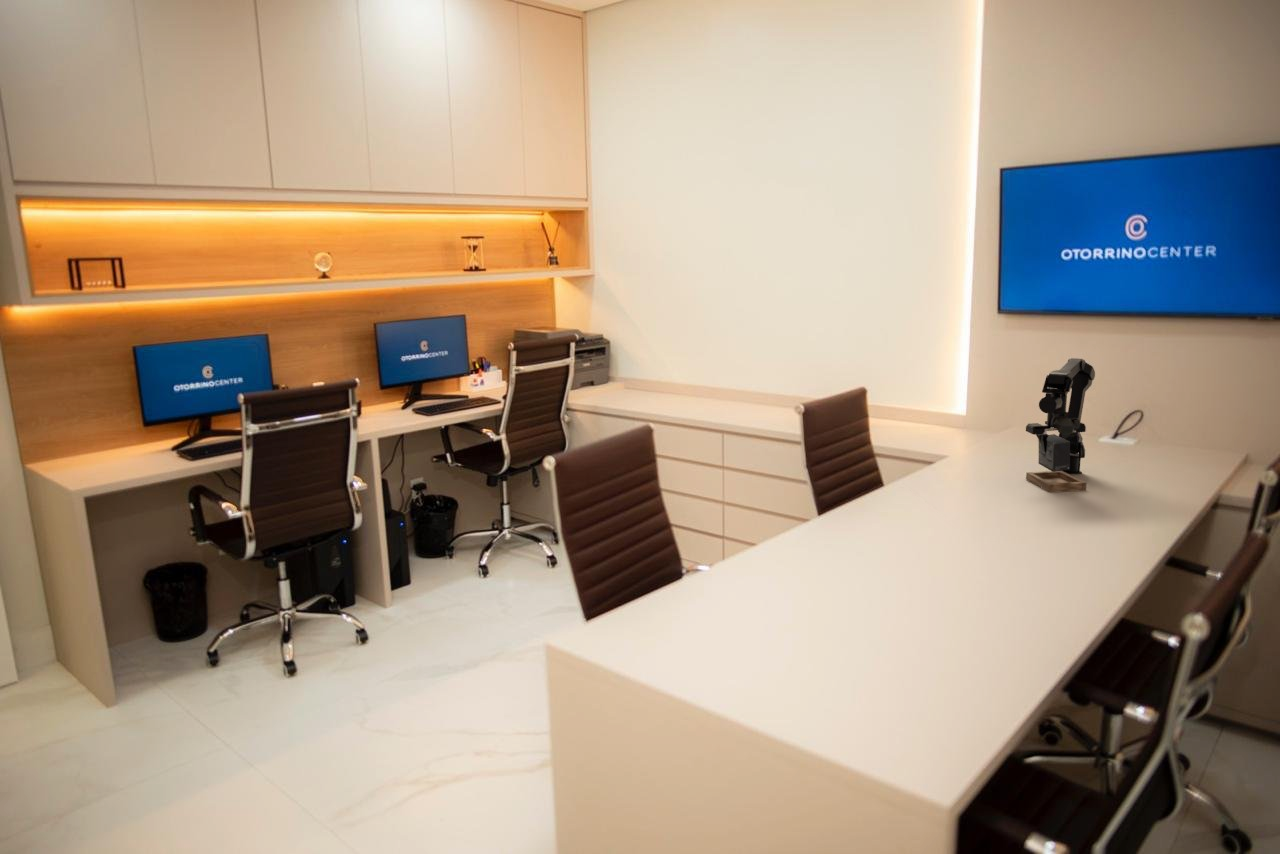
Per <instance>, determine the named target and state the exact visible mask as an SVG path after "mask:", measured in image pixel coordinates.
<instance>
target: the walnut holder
mask: <svg viewBox="0 0 1280 854" xmlns="http://www.w3.org/2000/svg"><path fill="white" fill-rule="evenodd" d="M1026 479H1027V480H1026ZM1025 480H1026V481H1028V480H1029V481H1028V482H1030V481H1031V482H1030V483H1032V482H1033V483H1034V484H1033V483H1032V484H1033V485H1035V484H1036V486H1037V485H1038V486H1037V487H1039V486H1040V487H1039V488H1041V487H1042V488H1041V489H1043V490H1044V489H1045V490H1044V491H1046V490H1047V492H1048V491H1049V492H1048V493H1057V492H1058V491H1062V492H1076V491H1077V490H1079V491H1087V482H1085V481H1084V480H1082V479H1079V478H1078V477H1076V476H1073V475H1072V474H1067V473H1065V472H1063V471H1056V472H1052V471H1051V470H1046V471H1029V472H1028V471H1027V472H1026V475H1025ZM1077 492H1078V491H1077ZM1058 493H1059V492H1058Z"/></svg>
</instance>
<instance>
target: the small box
mask: <svg viewBox="0 0 1280 854" xmlns="http://www.w3.org/2000/svg"><path fill="white" fill-rule="evenodd" d="M1048 435H1049V436H1048V437H1047V449H1046V452H1043V449H1042V447H1041V444H1040V442H1039V439H1038V438H1037V441H1038V465H1041V466H1042V467H1044V468H1046V469H1047V470H1048V471H1052V472H1056V471H1063V470H1070V441H1068V440H1065V439H1063V438H1061V437H1059V435H1057V434H1055V433H1053V434H1048Z"/></svg>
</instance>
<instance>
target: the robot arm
mask: <svg viewBox="0 0 1280 854" xmlns="http://www.w3.org/2000/svg"><path fill="white" fill-rule="evenodd" d="M1095 377H1096V372H1095V369H1094V366H1092V365H1091V364H1090V363H1088V362H1086V360H1085V359H1083V358H1075V357H1072V358H1068V360H1067V362H1066V363H1065V364H1064V365H1063V366H1062V367H1061V368H1059V369H1055V370H1052V371H1049V373H1048V374H1047V375H1046V377H1045V380H1044V383H1043V387H1042V391H1041V392H1042V393H1044V394H1045V396H1044V397H1042V398H1041V399H1040V400H1039V402H1038V408H1039V410H1040V411H1041V412H1043V413H1045V414H1047V415H1046V421H1044V424H1045V425H1042V424H1040V423H1038V422H1037V423H1036V422H1035V423H1033V422H1032V423H1031V422H1030V423H1028V424H1026V426H1025V432H1027V433H1029V434H1031V435H1033V436H1034V435H1035V436H1036V437H1037V440H1038V439H1039V441H1038V443H1039V442H1040V444H1041V447H1042V449H1043V452H1046V449H1047V437H1048V436H1049V435H1050V434H1047V432H1050V431H1058V432H1057V433H1059V434H1058V436H1059V437H1061V438H1063V439H1065V440H1068V441H1070V470H1063V472H1065V473H1067V474H1069V475H1078V474H1080V475H1081V474H1083V471H1081V459H1084V458H1085V457H1086V449H1085V445H1084V442H1083V440H1084V439H1083V436H1082V434H1081V433H1085V432H1087V427H1086V424H1085V423H1083V422H1081V421H1082V414H1083V408H1084V404H1085V403H1084V402H1085V397H1086V392H1087V391H1088V390H1089V388H1090V387H1091V386H1092V384H1093V381H1094V380H1095ZM1069 393H1070V396H1069V397H1070V398H1069V404H1068V410H1067V402H1068V401H1067V400H1068V394H1069Z"/></svg>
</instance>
